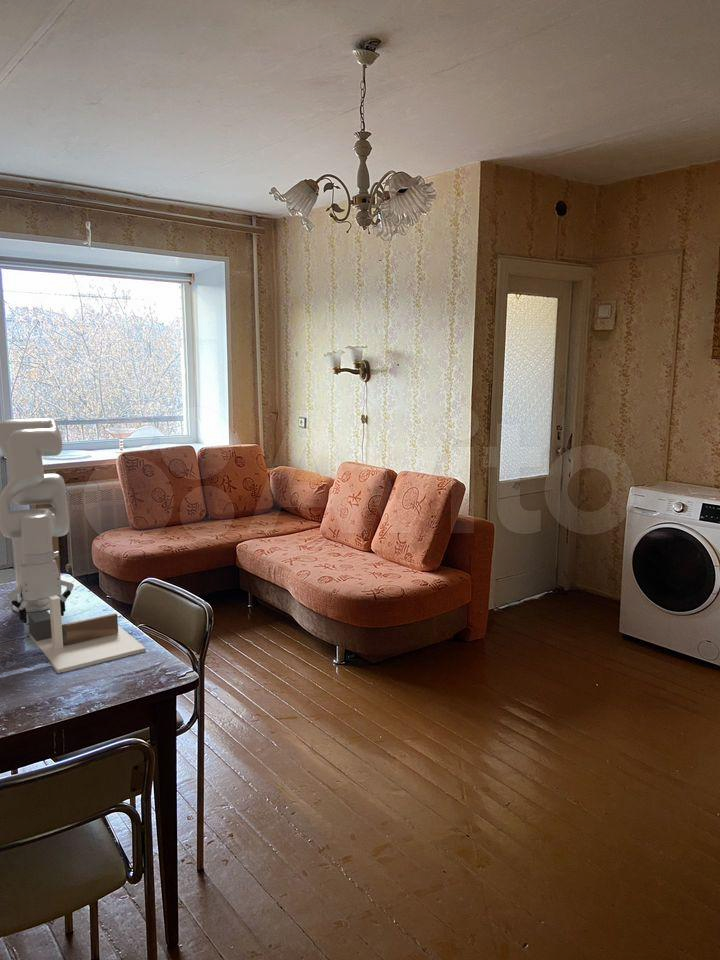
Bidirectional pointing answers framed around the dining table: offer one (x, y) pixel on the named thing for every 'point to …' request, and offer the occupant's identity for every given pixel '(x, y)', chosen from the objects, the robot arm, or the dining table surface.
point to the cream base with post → (83, 645)
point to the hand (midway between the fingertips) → (43, 618)
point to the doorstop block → (40, 625)
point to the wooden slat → (89, 629)
